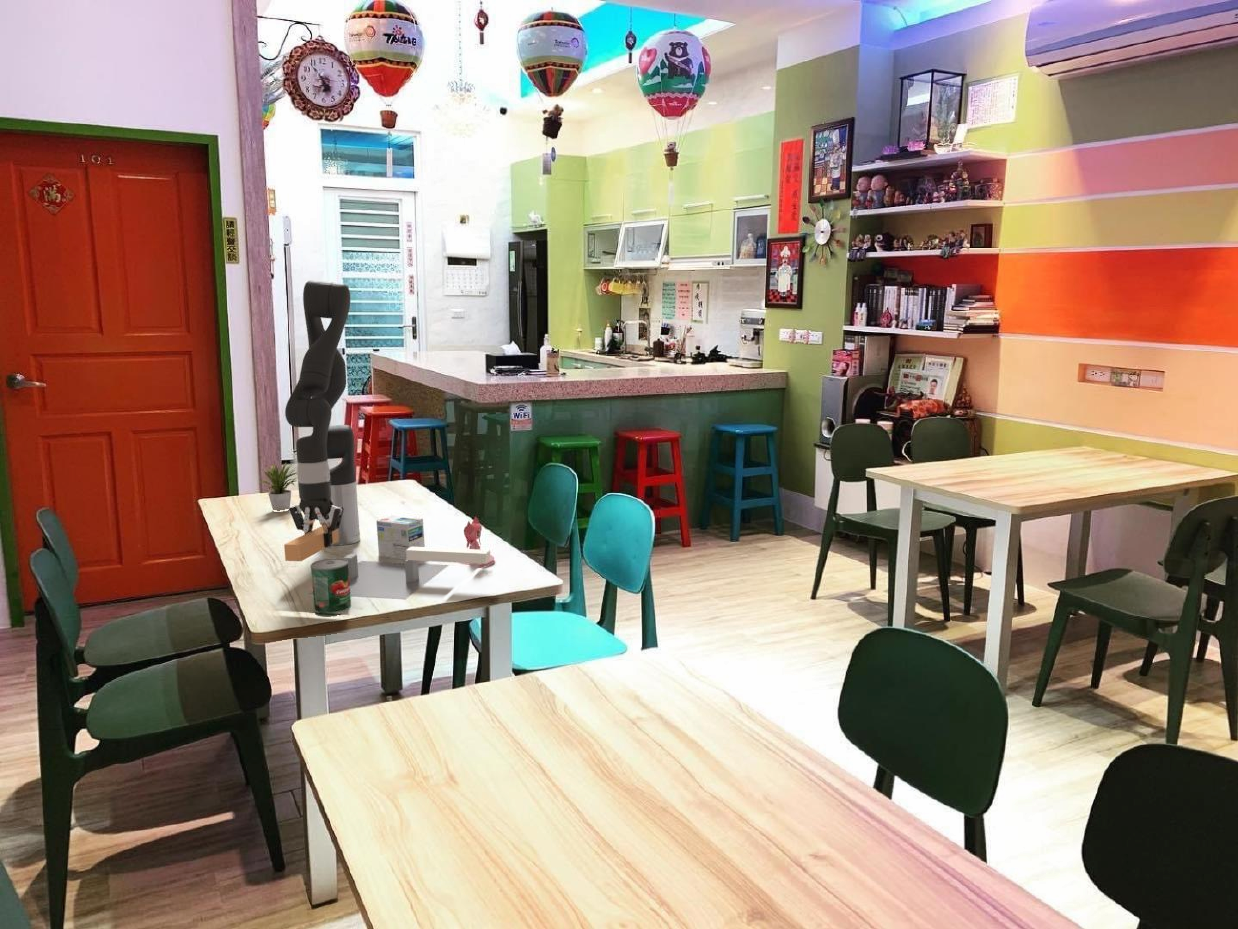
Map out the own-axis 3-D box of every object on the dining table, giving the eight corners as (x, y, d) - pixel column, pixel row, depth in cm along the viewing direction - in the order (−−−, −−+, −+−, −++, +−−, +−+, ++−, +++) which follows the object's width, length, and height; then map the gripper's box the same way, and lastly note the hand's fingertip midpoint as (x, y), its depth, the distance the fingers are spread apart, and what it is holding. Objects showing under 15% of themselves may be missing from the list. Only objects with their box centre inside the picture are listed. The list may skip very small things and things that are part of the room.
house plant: (294, 516, 284) (290, 466, 281) (251, 517, 285) (246, 466, 282) (310, 506, 298) (306, 457, 295) (269, 506, 299) (264, 458, 296)
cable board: (308, 597, 208) (306, 571, 207) (361, 564, 233) (360, 541, 232) (405, 603, 203) (403, 576, 202) (448, 568, 228) (447, 545, 227)
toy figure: (487, 569, 227) (485, 523, 225) (451, 567, 229) (448, 522, 227) (499, 558, 237) (497, 514, 234) (464, 556, 239) (462, 513, 236)
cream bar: (406, 560, 214) (406, 550, 213) (411, 556, 217) (411, 546, 216) (486, 563, 210) (485, 553, 209) (490, 560, 213) (490, 550, 212)
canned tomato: (349, 615, 196) (345, 567, 194) (311, 618, 195) (307, 569, 193) (353, 603, 204) (350, 557, 202) (317, 605, 202) (313, 559, 200)
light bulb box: (426, 557, 239) (424, 518, 237) (410, 564, 233) (408, 524, 231) (394, 552, 243) (391, 514, 241) (377, 559, 237) (375, 520, 235)
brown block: (285, 560, 212) (284, 544, 211) (324, 540, 229) (323, 525, 228) (300, 561, 211) (299, 545, 210) (338, 541, 228) (337, 526, 228)
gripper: (279, 481, 218) (285, 549, 221) (333, 482, 215) (338, 551, 218) (295, 475, 225) (301, 541, 228) (348, 476, 222) (353, 543, 225)
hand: (319, 546), depth 223 cm, fingers closed on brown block, 4 cm apart
